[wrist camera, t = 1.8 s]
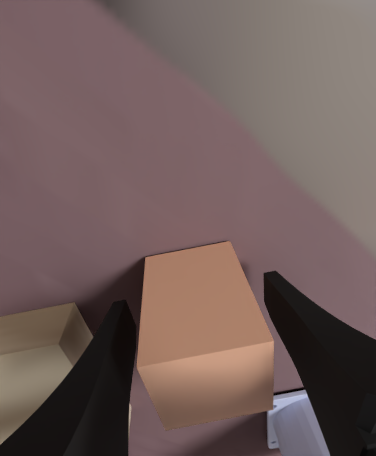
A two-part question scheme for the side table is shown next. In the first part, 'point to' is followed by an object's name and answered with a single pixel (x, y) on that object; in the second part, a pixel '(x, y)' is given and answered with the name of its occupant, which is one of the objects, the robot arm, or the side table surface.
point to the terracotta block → (203, 338)
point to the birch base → (37, 359)
